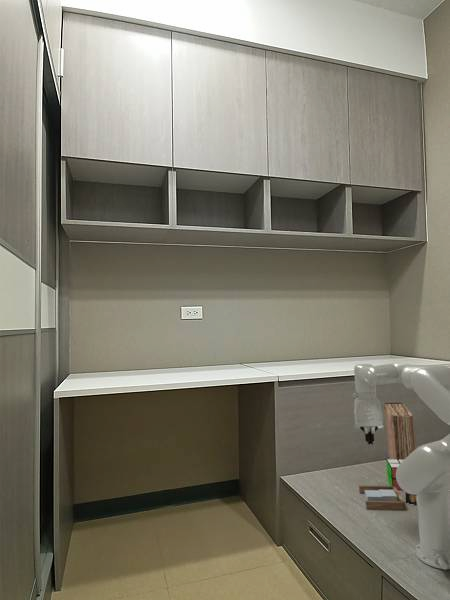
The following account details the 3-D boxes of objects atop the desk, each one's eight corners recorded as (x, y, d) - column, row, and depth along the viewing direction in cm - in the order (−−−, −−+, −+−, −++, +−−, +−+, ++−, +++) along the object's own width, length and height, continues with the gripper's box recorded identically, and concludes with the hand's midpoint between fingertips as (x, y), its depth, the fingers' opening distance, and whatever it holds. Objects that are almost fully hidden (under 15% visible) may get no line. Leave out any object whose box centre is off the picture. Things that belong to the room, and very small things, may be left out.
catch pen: (405, 510, 151) (405, 502, 151) (366, 509, 153) (366, 501, 153) (395, 492, 166) (394, 485, 166) (359, 492, 168) (359, 485, 168)
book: (418, 479, 177) (413, 414, 179) (397, 478, 180) (392, 414, 181) (406, 458, 202) (402, 402, 204) (388, 458, 204) (383, 402, 206)
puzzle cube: (416, 490, 166) (415, 467, 167) (392, 490, 168) (390, 467, 169) (410, 481, 176) (408, 459, 177) (387, 480, 178) (386, 459, 179)
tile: (397, 504, 156) (397, 496, 156) (382, 504, 157) (382, 496, 157) (394, 497, 162) (393, 489, 162) (379, 497, 163) (378, 489, 163)
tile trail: (383, 505, 156) (382, 496, 156) (368, 505, 157) (367, 496, 157) (379, 498, 162) (379, 490, 162) (365, 498, 163) (364, 490, 163)
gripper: (348, 398, 145) (351, 446, 144) (388, 397, 143) (392, 446, 142) (345, 394, 153) (348, 440, 152) (383, 393, 150) (387, 439, 149)
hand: (370, 443), depth 147 cm, fingers closed
